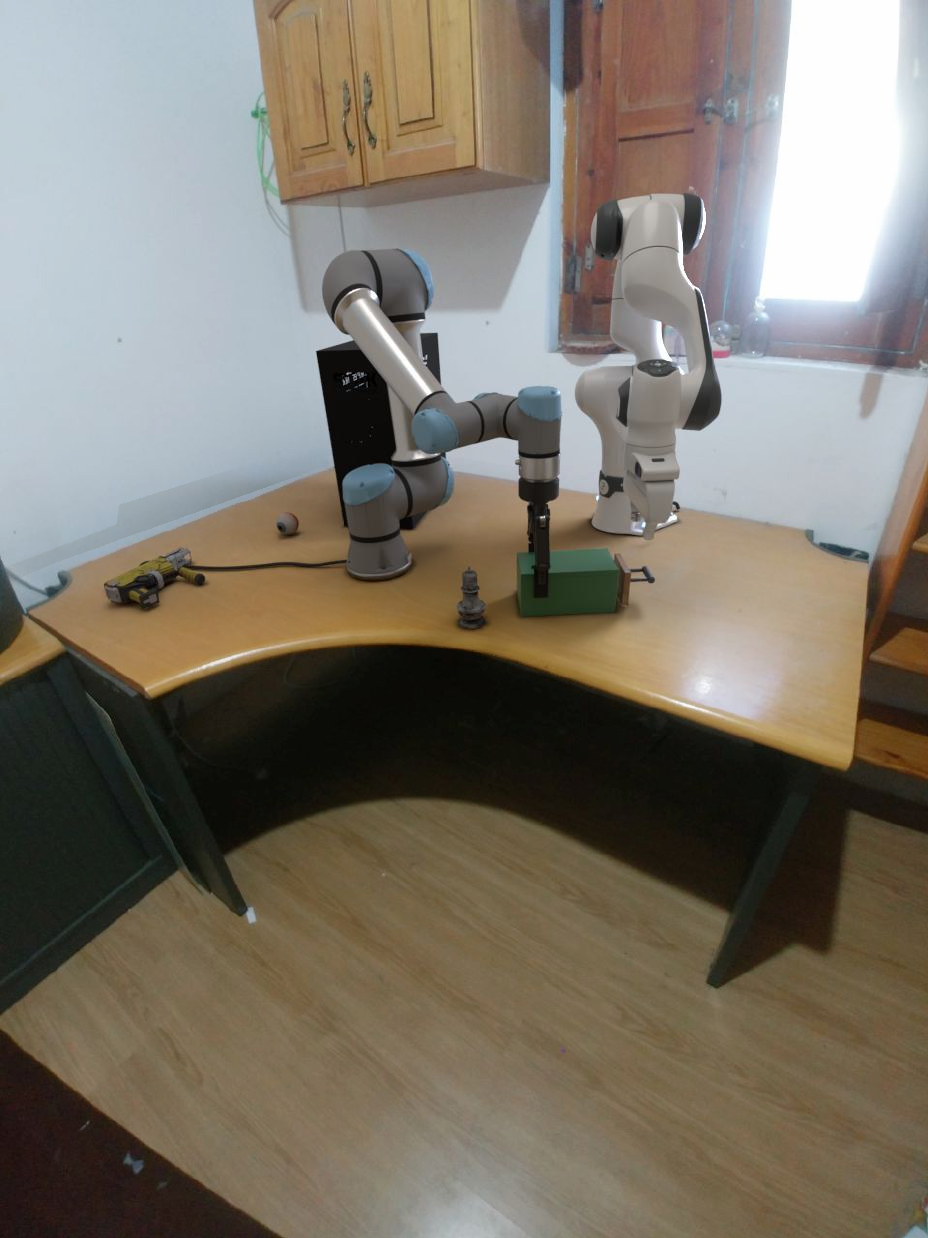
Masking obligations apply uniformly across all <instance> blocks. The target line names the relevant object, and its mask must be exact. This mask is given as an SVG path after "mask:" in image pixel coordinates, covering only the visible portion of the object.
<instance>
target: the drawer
mask: <svg viewBox="0 0 928 1238" xmlns="http://www.w3.org/2000/svg"><path fill="white" fill-rule="evenodd" d="M613 560H614V562H615V564H616V566H617V567H618V569H619V572H618V584H617V595H616V597H617V599H618V601H619V603H620V605H621V606H622V607H626V606H629V599H630V588H631V583H641V582H648V583H649V584H654V583H655V581H656V578H655V577H654V575H653V574H652V572H651V570H650V568H649V567H648V566H647V565H643V566H641V567H639V568H629V566H628V565H627V562H626V561H625V559H624V557H623V555H622V554H621V553H619V552H618V553H616V552H615V553H614V557H613ZM632 573H642V574H643V576H644V577H632Z"/></svg>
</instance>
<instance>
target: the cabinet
mask: <svg viewBox="0 0 928 1238" xmlns="http://www.w3.org/2000/svg"><path fill="white" fill-rule="evenodd" d="M532 565H535V553H534V552H528V551H517V552H516V595H517V601H518V607H519V612H520V617H537V616H538V617H539V616H560V615H561V616H562V615H563V616H564V615H581V614H585V615H586V614H604V613H606V614H607V613H616V607H617V606H616V605H617V584H618V572H619V569H618V567H617V566H616V564H615V562H614V557H613V556H612V555H611V552H610V550H609V549H608V547H603V548H601V547H600V548H581V549H562V550H550V565H551V567H550V569H549V572H548V597H546V598H534V569H531V566H532Z"/></svg>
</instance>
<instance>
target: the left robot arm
mask: <svg viewBox="0 0 928 1238" xmlns="http://www.w3.org/2000/svg"><path fill="white" fill-rule="evenodd" d="M321 295H322V301H323V305H324V307H325V311H326V313H327V315H328V317H329V319H330V320H331V321H332V323H333V324H334V325H335V327H336V328H337V329H338V331H339V332H340V333H342V334H343V335H347V336H350V338H351V339H352V340H354V341H355V343H356V344H357V345H358V346H359V348H360V349H361V350H362V352H363V353H364V354H365V356H366V357H367V358H368V359H369V361H370V362H371V363H372V365H373V366H374V367H375V368H376V370H377V371H378V372H379V374H380V375H381V376H382V378H383V379H384V380H385V381H386V383H387V389H388V396H389V403H390V409H391V416H392V423H393V430H394V437H395V444H396V450H395V452H394V453H393V455H392V456H391V461H392V467H391V466H390V465H388V464H382V463H378V464H373V465H366V466H362V467H359V468H357V469H355V470H353V471H351V472H350V473H348V474H347V475H346V476H345V478H344V480H343V500H344V503H345V509H346V515H347V521H348V526H347V527H348V532H349V540H350V541H349V547H348V553H347V558H346V559H341V560H340V559H339V560H331V561H325V562H318V563H317V562H316V563H307V562H297V561H278V562H277V561H275V562H267V563H259V564H247V565H230V566H229V565H226V566H209V565H196V564H195V565H192V564H186V565H185V564H184V565H183V566H182V567H184V568H187V569H191V570H192V569H193V570H206V571H207V570H209V571H229V570H230V571H231V570H232V571H233V570H245V569H247V570H249V569H259V568H269V567H277V566H278V567H279V566H296V567H297V566H298V567H306V568H319V567H326V566H330V565H331V566H333V565H340V564H346V572H347V574H348V575H349V576H350V577H352V578H354V579H356V580H359V581H366V582H379V581H387V580H391V579H394V578H397V577H401V576H402V575H404V574H406V573H407V572H408V571H409V570H410V569H411V567H412V564H413V563H412V551H410V552H409V550H408V548H407V545H406V544H405V541H404V539H403V536H402V534H401V528H400V524H399V520H400V519H403V518H406V517H409V516H412V515H415V514H418V513H421V512H424V511H427V512H429V511H433V510H435V509H437V508H439V507H441V506H443V505H445V504H447V503H448V502H449V500H450V499H451V498H452V495H453V493H454V488H455V474H454V470H453V467H450V466H451V464H450V462H449V460H448V459H447V458H446V459H445V458H444V457H441V453H443V452H446V453H449V452H451V451H454V450H457V449H460V448H464V447H468V446H471V445H477V444H480V443H483V442H487V441H491V440H494V439H499V438H500V439H507V440H512V441H516V442H517V447H518V448H517V454H518V459H515V461H514V463H515V466H518V476H519V478H518V480H517V481H518V482H517V483H518V484H517V485H518V498H519V499H520V500H522V501H523V502H526V503H528V504H527V505H526V511H527V512H526V513H527V531H526V535H527V541H528V544H527V552H534V553H535V565H532V566H531V569H534V598H546V597H548V572H549V569H550V567H551V565H550V551H551V548H550V547H551V546H550V545H551V544H550V542H551V541H550V521H551V509H550V508H549V502H553V501H555V500H557V499H558V497H559V496H560V478H559V477H558V476H560V474H561V429H562V428H561V427H562V417H563V412H562V396H561V395H562V394H561V391H560V390H559V389H558V388H557V387H555V386H550V385H543V386H542V385H533V386H526V387H522V388H521V389H520V390H519V391H518V393H517V396H515V395H509V394H503V393H499V392H481V393H478V394H477V395H476V396H475V397H474V398H473V399H471V400H466V401H461V402H456V401H455V400H454V399H453V398H452V396H451V395H450V394H449V393H448V392H447V391H446V390H445V388H444V387H443V385H442V383H441V384H440V383H439V382H438V381H437V379H436V378H435V377H434V376H433V374H432V373H431V372H430V371H429V369H428V368H427V367H426V366H425V364H426V363H425V362H423V360H424V357H423V355H422V346H421V338H420V333H421V328H422V327H423V326H424V324H425V322H426V319H427V318H426V312H427V310H428V309H429V308H430V307H431V306H432V304H433V300H432V299H434V297H435V285H434V280H433V275H432V273H431V270H430V268H429V265H428V263H427V261H426V260H425V259H424V258H423V257H422V256H421V254H419V253H418V252H416V251H414V250H412V249H404V248H399V247H398V248H384V249H382V248H381V249H367V250H365V249H363V250H359V249H354V250H351V249H350V250H347V251H344V252H342V253H340V254H339V255H337V256H336V257H335V258H333V259H332V260H331V261H330V263H329V264H328V266H327V268H326V269H325V272H324V276H323V278H322V284H321ZM149 561H150V560H145V561H143V562H141V563H140V564H139V565H138V567H139V566H141V565H143V564H145V563H147V562H149ZM182 567H181V568H182Z"/></svg>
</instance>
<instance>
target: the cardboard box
mask: <svg viewBox="0 0 928 1238" xmlns="http://www.w3.org/2000/svg"><path fill="white" fill-rule="evenodd" d="M420 338H421V346H422V355H423V363H424V364H425V366H426V367H427V368H428V369H429V371H430V372H431V373H432V374H433V376H434V377H435V378H436V379H437V381H438V382H439V383H440V384H441V385H442V377H441V376H442V375H441V361H440V345H439V333H438V332H420ZM315 355H316V360H317V367H318V373H319V379H320V386H321V391H322V398H323V404H324V411H325V417H326V422H327V428H328V435H329V441H330V442H329V443H330V448H331V454H332V459H333V460H332V461H333V467H334V472H335V478H336V479H335V480H336V485H337V493H338V497H339V503H340V509H341V516H342V523H343V527H348V521H347V515H346V509H345V503H344V500H343V480H344V478H345V476H346V475H347V474H348V473H350V472H351V471H353V470H355V469H357V468H359V467H362V466H366V465H373V464H378V463H382V464H388V465H390V466H391V467H392V461H391V456H392V455H393V453H394V452H395V450H396V444H395V437H394V430H393V423H392V416H391V409H390V403H389V396H388V389H387V383H386V381H385V380H384V379H383V378H382V376H381V375H380V374H379V372H378V371H377V370H376V368H375V367H374V366H373V365H372V363H371V362H370V361H369V359H368V358H367V357H366V356H365V354H364V353H363V352H362V350H361V349H360V348H359V346H358V345H357V344H356V343H355V341H354V340H353V339H352V340H349V341H346V342H342V343H339V344H335V345H332V346H329V347H325V348H322V349H318V350H315ZM446 453H447V452H443V453H441V457H444V458H445V459H446V460H447V454H446ZM427 512H428V511H424V512H421V513H418V514H415V515H412V516H409V517H406V518H403V519H400V520H399V524H400V530H403V529H404V530H414V529H415V528H416V526H417V525H418V524H419V522H420V521H421V520H422V519H423V518H424V516H425V515H426V514H427Z"/></svg>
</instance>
